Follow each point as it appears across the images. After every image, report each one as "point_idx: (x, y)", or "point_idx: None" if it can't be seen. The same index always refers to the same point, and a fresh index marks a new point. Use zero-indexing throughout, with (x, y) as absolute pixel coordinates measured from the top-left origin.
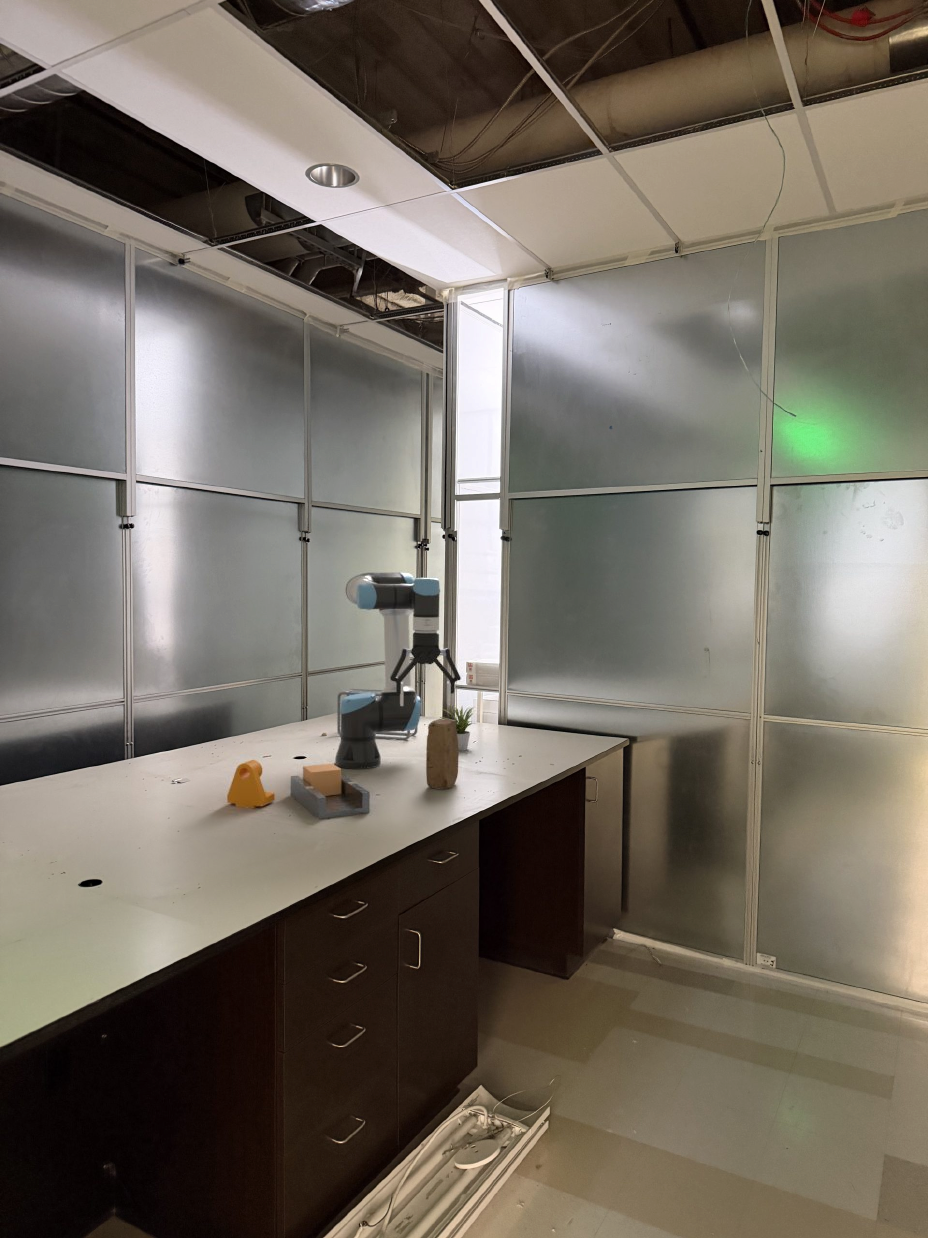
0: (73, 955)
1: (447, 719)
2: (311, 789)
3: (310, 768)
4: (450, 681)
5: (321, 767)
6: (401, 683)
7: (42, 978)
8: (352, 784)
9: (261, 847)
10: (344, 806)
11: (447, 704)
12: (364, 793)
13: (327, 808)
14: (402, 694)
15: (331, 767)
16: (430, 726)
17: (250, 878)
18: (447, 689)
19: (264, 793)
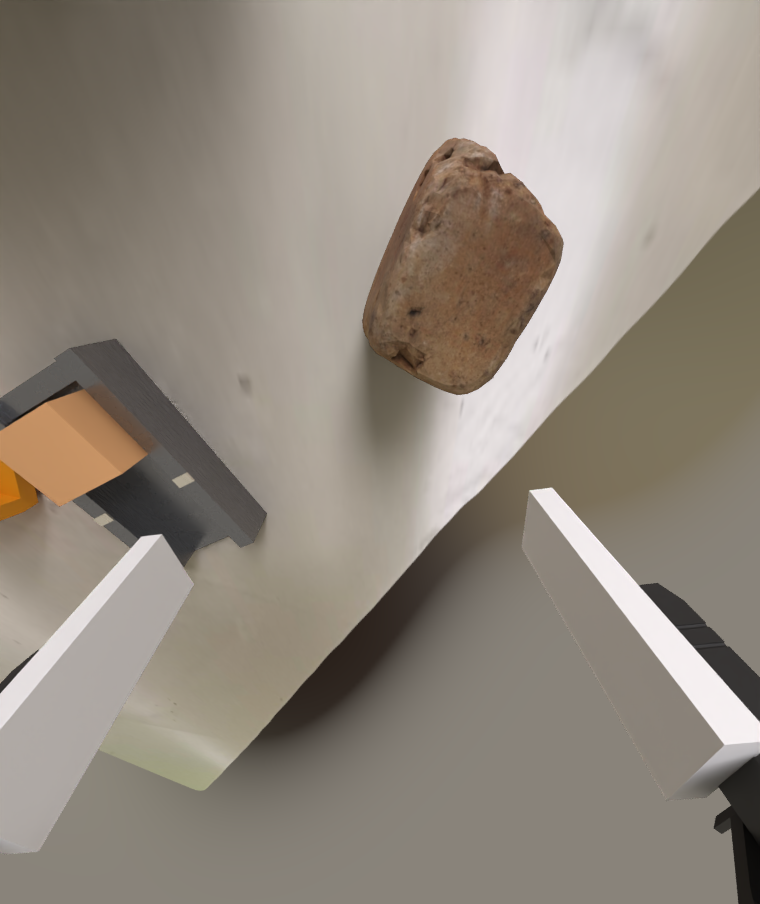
0: (165, 760)
1: (515, 229)
2: (116, 529)
3: (23, 467)
4: (744, 816)
5: (48, 455)
6: (11, 853)
7: (170, 771)
8: (190, 490)
9: (170, 636)
10: (212, 519)
11: (525, 535)
12: (244, 545)
13: (185, 530)
14: (130, 682)
15: (78, 454)
16: (383, 355)
17: (210, 691)
18: (610, 654)
19: (7, 505)
